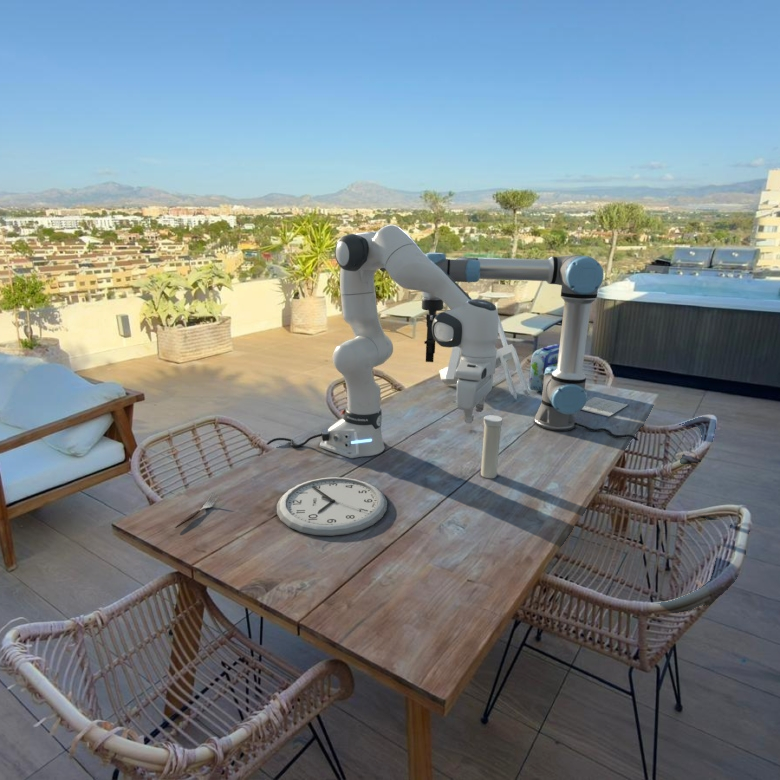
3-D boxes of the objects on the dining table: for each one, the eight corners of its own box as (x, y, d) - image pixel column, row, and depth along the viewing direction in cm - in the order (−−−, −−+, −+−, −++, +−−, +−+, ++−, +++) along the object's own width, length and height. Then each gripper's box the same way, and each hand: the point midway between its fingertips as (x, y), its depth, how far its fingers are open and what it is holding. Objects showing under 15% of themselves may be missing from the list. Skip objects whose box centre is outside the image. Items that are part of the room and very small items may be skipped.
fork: (171, 528, 130) (170, 521, 130) (212, 499, 145) (211, 492, 144) (179, 530, 129) (178, 523, 129) (220, 500, 144) (219, 494, 143)
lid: (497, 428, 154) (498, 422, 153) (480, 424, 156) (481, 418, 156) (504, 422, 158) (505, 417, 157) (488, 419, 161) (488, 413, 160)
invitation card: (608, 416, 214) (573, 407, 224) (608, 416, 214) (573, 408, 224) (628, 404, 229) (594, 396, 238) (628, 405, 229) (594, 397, 238)
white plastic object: (461, 429, 252) (437, 405, 227) (444, 352, 274) (420, 323, 250) (535, 404, 240) (518, 377, 215) (510, 326, 262) (492, 293, 237)
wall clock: (392, 527, 129) (268, 531, 127) (391, 533, 130) (269, 537, 127) (383, 473, 158) (282, 475, 155) (383, 478, 158) (282, 480, 156)
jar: (492, 479, 159) (497, 423, 153) (477, 475, 162) (482, 420, 156) (499, 473, 163) (503, 419, 157) (484, 469, 165) (488, 415, 160)
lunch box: (545, 397, 238) (550, 352, 231) (524, 391, 245) (529, 348, 239) (572, 386, 255) (578, 344, 249) (552, 381, 262) (557, 340, 256)
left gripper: (477, 355, 143) (474, 403, 147) (453, 372, 125) (450, 426, 129) (500, 358, 140) (496, 406, 144) (478, 376, 122) (475, 431, 127)
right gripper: (424, 293, 195) (422, 349, 202) (419, 302, 172) (417, 365, 178) (444, 294, 195) (441, 350, 201) (442, 303, 171) (439, 366, 177)
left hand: (474, 416), depth 137 cm, fingers open, 8 cm apart
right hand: (430, 357), depth 190 cm, fingers open, 13 cm apart
